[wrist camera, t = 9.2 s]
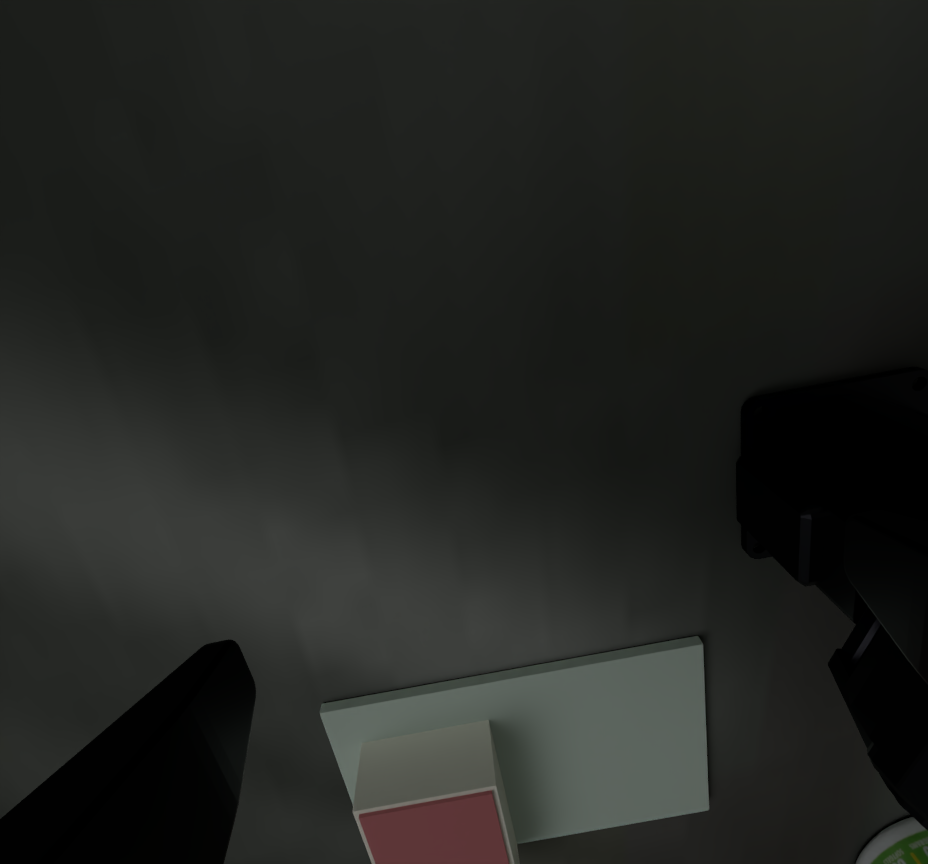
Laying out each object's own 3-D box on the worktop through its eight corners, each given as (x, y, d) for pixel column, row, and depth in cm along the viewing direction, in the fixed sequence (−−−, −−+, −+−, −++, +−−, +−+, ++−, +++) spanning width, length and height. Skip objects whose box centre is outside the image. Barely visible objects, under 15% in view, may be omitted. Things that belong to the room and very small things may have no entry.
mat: (697, 635, 24) (703, 644, 24) (704, 799, 28) (709, 810, 27) (321, 703, 24) (319, 713, 24) (376, 857, 28) (376, 868, 27)
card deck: (516, 843, 27) (527, 920, 24) (403, 864, 27) (399, 942, 25) (488, 719, 24) (496, 789, 22) (361, 743, 25) (352, 815, 22)
